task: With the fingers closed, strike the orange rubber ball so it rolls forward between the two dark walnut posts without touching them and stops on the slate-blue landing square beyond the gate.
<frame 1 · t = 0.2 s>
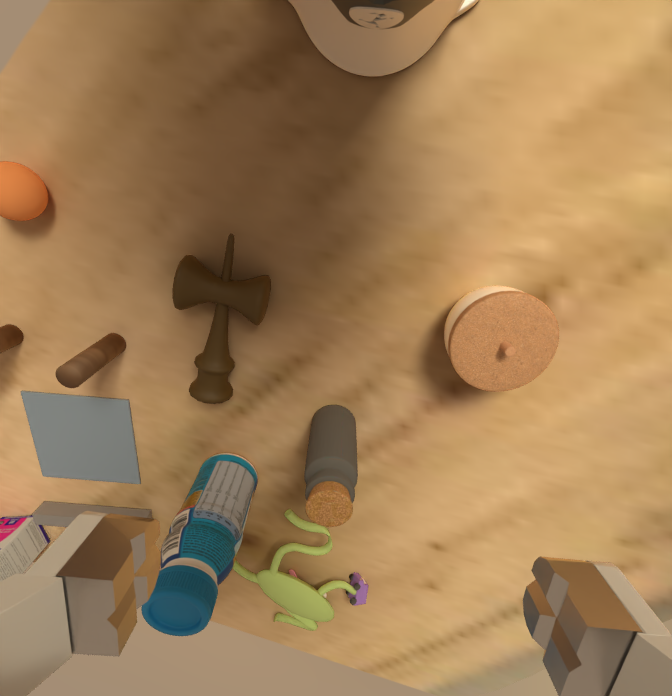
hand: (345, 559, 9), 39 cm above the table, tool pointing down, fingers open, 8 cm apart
post 2: (12, 334, 49), on the table
ball: (14, 191, 40), on the table
post 1: (115, 343, 49), on the table
kendama: (227, 313, 48), on the table
beverage bottle: (230, 473, 57), on the table
supplement box: (27, 527, 62), on the table
figurine: (296, 558, 64), on the table
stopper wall: (98, 510, 60), on the table
bottle: (333, 422, 53), on the table
lidded jar: (480, 319, 47), on the table
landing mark: (84, 439, 55), on the table
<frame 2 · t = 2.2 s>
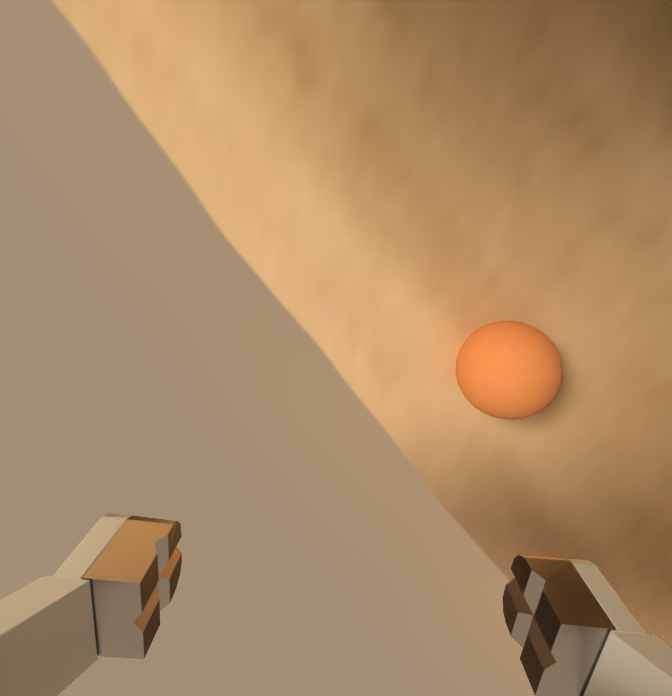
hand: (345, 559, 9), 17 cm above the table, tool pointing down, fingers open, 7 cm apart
ball: (506, 369, 23), on the table
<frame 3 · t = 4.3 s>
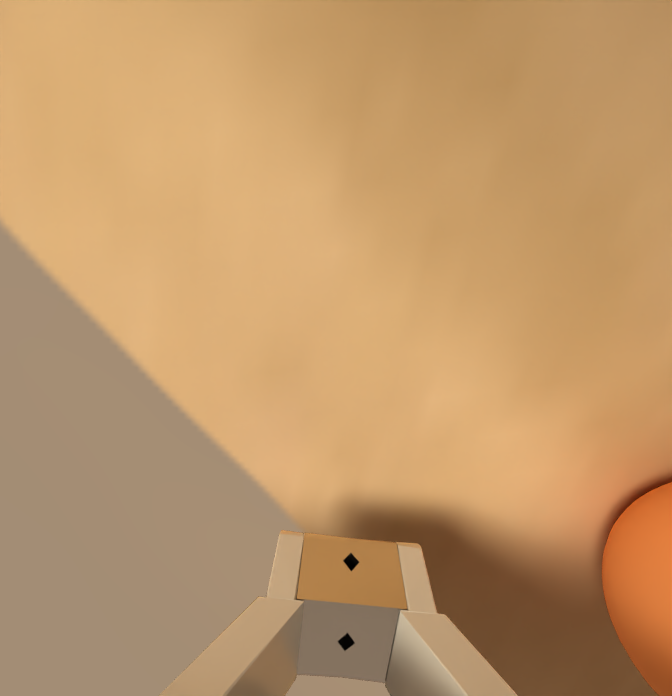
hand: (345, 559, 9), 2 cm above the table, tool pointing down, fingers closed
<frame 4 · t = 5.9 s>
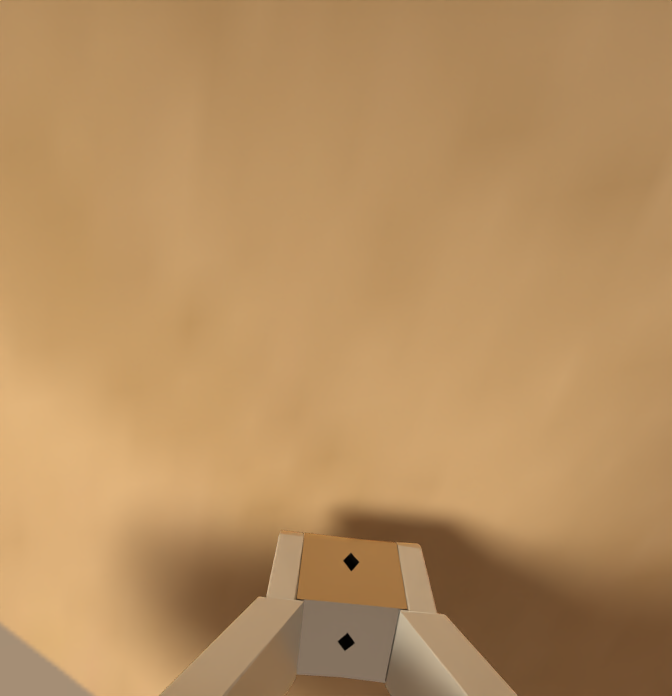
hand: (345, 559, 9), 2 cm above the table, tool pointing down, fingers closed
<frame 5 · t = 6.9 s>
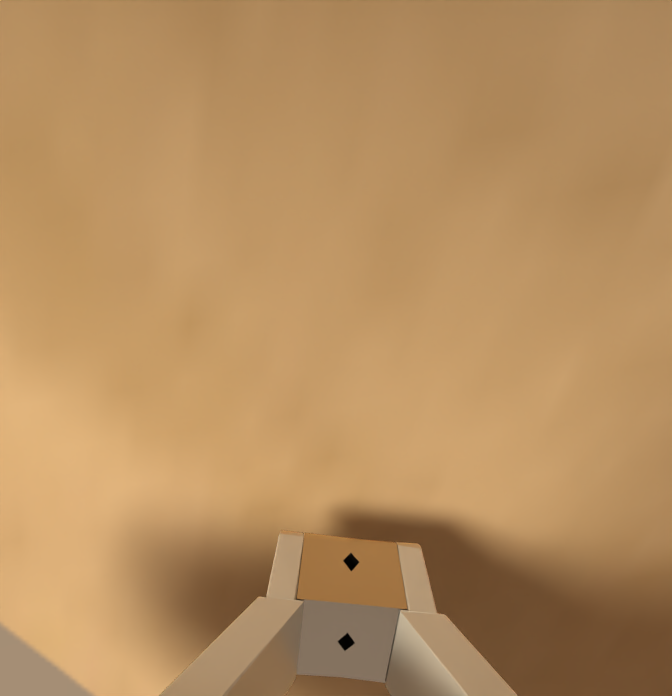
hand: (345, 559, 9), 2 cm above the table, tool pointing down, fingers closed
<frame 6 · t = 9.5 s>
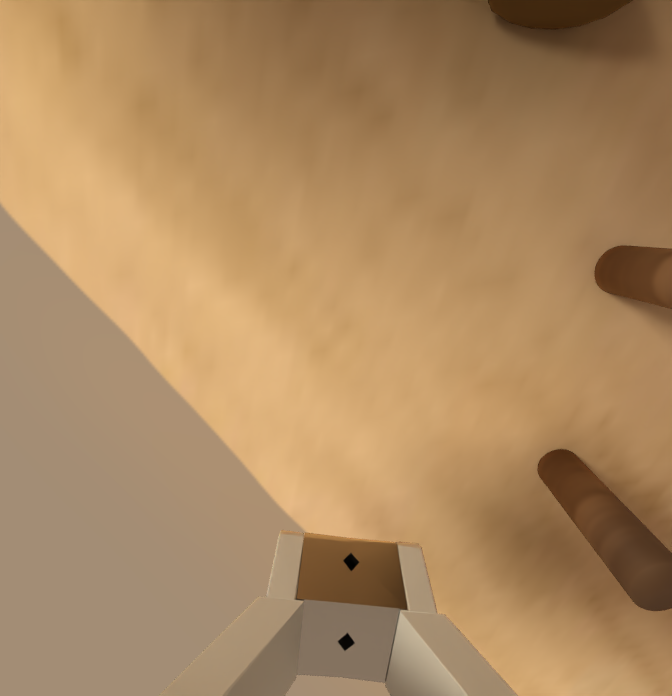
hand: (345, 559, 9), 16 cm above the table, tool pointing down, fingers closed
post 2: (558, 467, 26), on the table
post 1: (619, 269, 22), on the table
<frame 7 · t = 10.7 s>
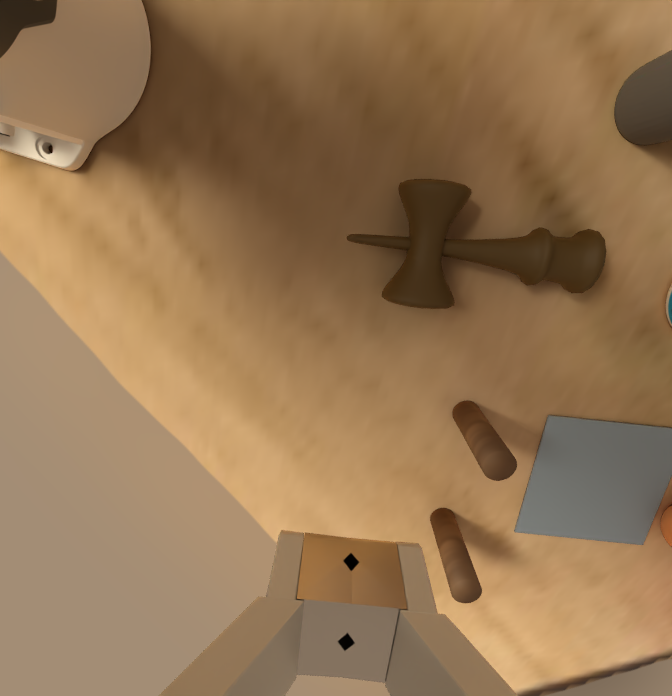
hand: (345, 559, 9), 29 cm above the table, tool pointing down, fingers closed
post 2: (442, 518, 43), on the table
post 1: (465, 412, 39), on the table
kendama: (459, 248, 35), on the table
bottle: (650, 105, 31), on the table
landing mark: (597, 482, 41), on the table
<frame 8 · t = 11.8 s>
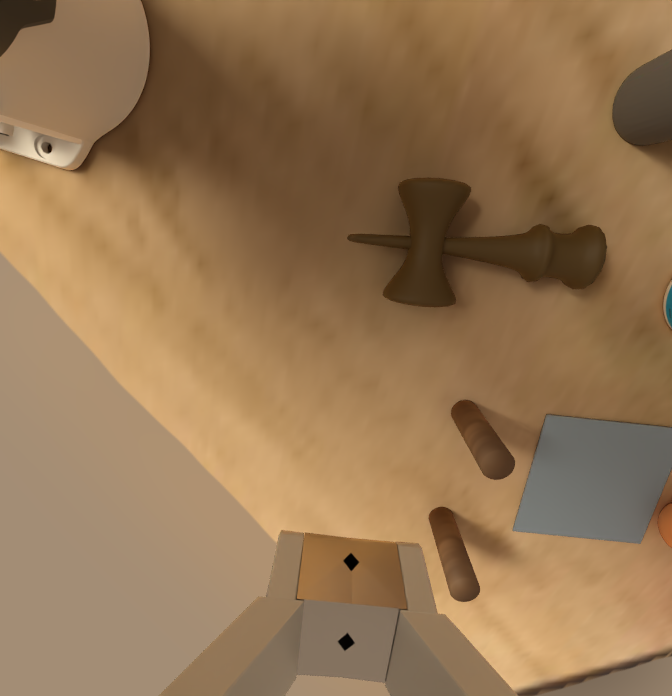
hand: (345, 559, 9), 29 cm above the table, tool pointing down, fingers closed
post 2: (440, 517, 43), on the table
post 1: (464, 412, 40), on the table
kendama: (460, 245, 35), on the table
bottle: (647, 105, 32), on the table
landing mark: (595, 481, 42), on the table
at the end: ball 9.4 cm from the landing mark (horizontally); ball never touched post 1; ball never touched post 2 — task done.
